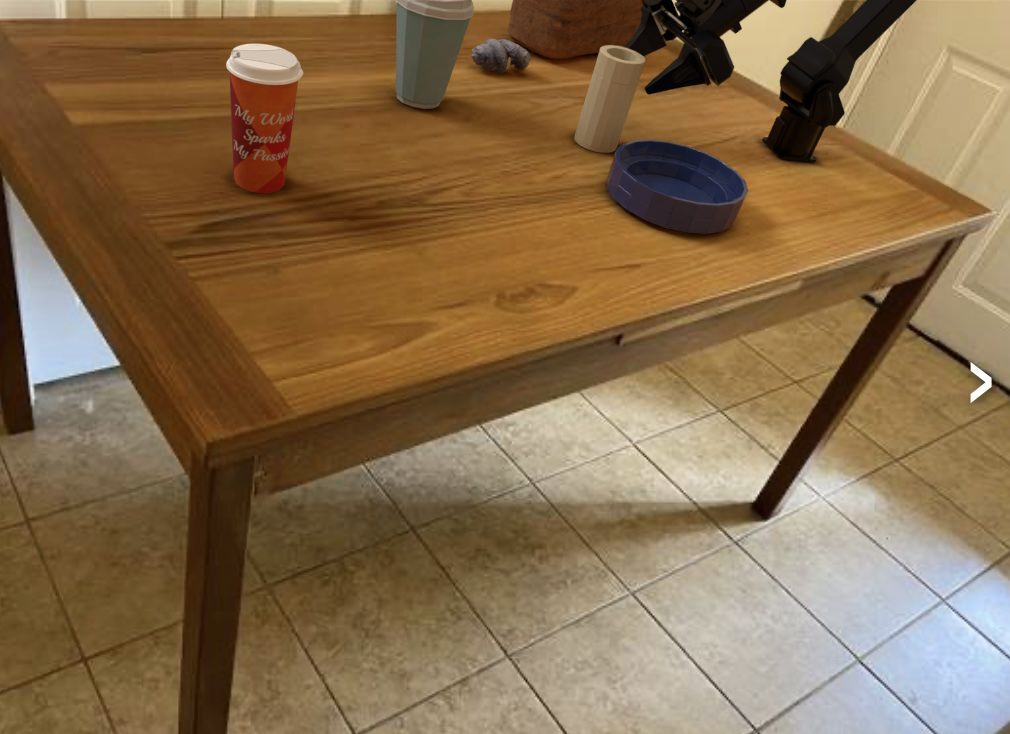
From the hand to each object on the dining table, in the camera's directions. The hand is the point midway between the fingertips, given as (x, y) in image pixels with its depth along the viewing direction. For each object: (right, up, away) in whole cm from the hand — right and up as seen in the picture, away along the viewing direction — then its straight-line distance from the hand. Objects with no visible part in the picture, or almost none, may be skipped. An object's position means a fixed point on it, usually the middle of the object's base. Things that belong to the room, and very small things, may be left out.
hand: (631, 77), depth 118 cm
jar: (-4, -7, +6) cm, 10 cm away
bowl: (+4, -18, -5) cm, 19 cm away
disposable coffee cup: (-29, -1, +6) cm, 29 cm away
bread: (-3, +20, +36) cm, 41 cm away
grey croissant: (-17, +8, +20) cm, 27 cm away
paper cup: (-46, -19, -19) cm, 53 cm away
